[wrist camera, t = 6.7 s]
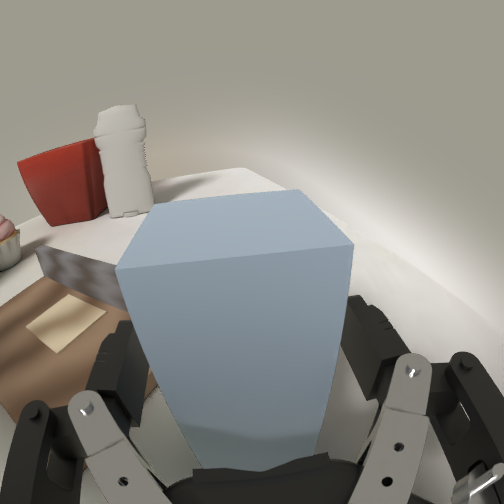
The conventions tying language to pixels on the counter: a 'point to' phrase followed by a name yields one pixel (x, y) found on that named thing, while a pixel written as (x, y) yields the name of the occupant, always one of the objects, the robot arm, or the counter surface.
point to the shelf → (58, 331)
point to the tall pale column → (124, 161)
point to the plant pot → (66, 182)
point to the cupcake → (9, 244)
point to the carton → (241, 320)
